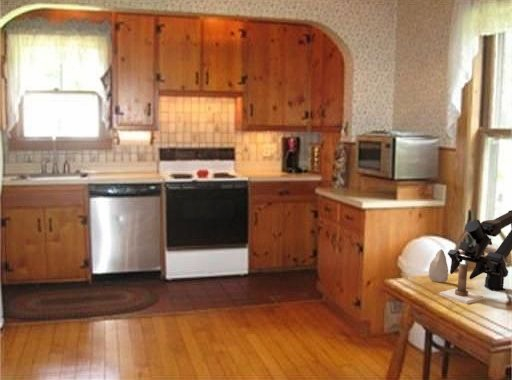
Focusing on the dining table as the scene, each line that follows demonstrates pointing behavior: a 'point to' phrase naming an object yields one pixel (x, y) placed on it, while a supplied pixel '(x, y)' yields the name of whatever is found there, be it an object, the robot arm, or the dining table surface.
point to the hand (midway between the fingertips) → (460, 276)
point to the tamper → (462, 281)
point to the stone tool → (438, 268)
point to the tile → (463, 299)
